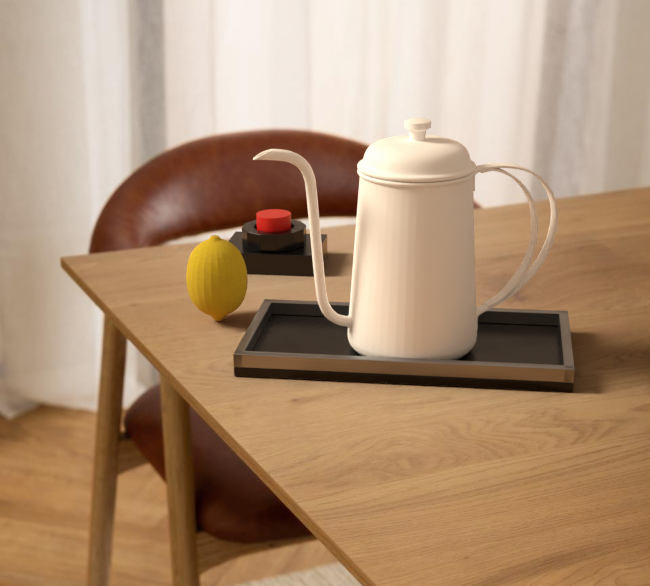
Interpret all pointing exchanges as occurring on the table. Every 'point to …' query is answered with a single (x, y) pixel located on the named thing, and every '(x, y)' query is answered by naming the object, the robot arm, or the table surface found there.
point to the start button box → (277, 250)
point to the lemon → (216, 277)
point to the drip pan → (468, 371)
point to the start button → (273, 220)
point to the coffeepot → (415, 246)
